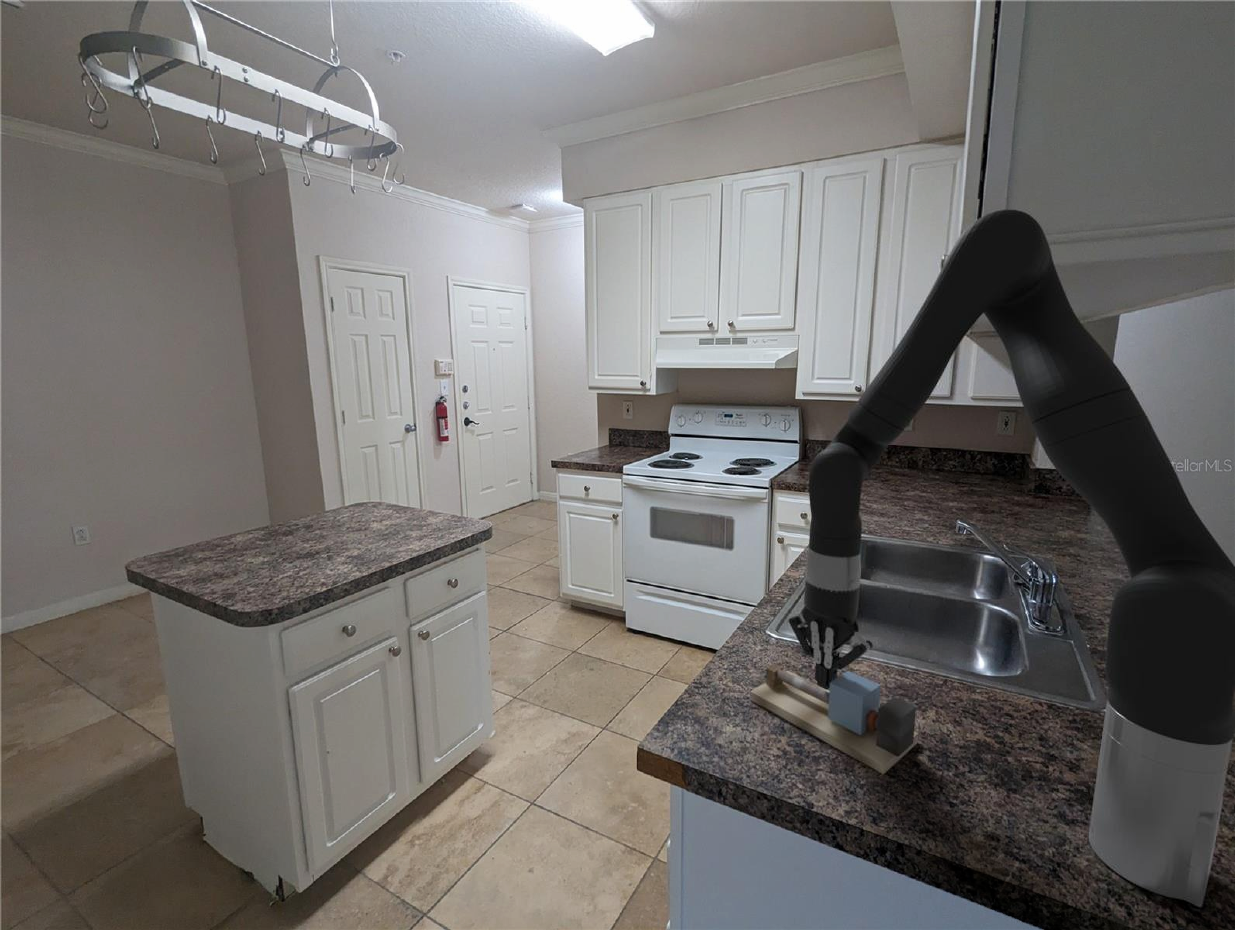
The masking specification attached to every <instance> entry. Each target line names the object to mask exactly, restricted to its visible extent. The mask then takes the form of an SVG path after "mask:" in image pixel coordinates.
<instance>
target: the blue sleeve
mask: <svg viewBox="0 0 1235 930" xmlns="http://www.w3.org/2000/svg"><path fill="white" fill-rule="evenodd" d="M881 685H882V684H879V683H877V682H875V681H872V680H871V679H868V678H865V677H863V676H861V675H858V674H857V673H854V672H851V671H849V670H847V671H846V672H843V674H841V675H840V676H837V678H836V679H835V680H833V681H832V682H830V688H829V691H830V692H829V713H828V719H830V720H832V721H834V722H836V723H838V724H840V725H841V726H843V727H845V728H847V729H849V730H851V731H853V732H855V733H857V734H859V735H862V734H863V733H864V732H866V718H867V714H868V713H871V712H872V711H876V712H878V710H879V708H880V699H881V698H880V697H881Z"/></svg>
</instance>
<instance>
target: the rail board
mask: <svg viewBox="0 0 1235 930" xmlns="http://www.w3.org/2000/svg"><path fill="white" fill-rule="evenodd" d="M765 672H766V673H765V682H764V683H762V684H761V685H759V686H757V687H756V688H754V689H752V690H750V692H749V693H750V694H749V695H750V697H749V701H752V702H753V703H755V704H757V705H759V706H760V707H762V708H764V709H766V710H768V711H769V712H771V713H773V714H774V715H777V716H779V717H780V718H782V719H784V720H785V721H787V722H789V723H791V724H793V725H795V726H796V727H798V728H800V729H801V730H804V731H805V732H807V733H808V734H810V735H812V736H814V737H816V738H818V739H820V740H822V741H823V742H825V743H827V744H829V745H830V746H832V747H834V748H835V749H838V750H839V751H841V752H842V753H845V754H846V755H848V756H850V757H852V758H854V759H855V760H857V761H859V762H861V763H863V764H864V765H866V766H868V767H870V768H871V769H873V770H875V771H877V772H879V773H880V774H882V775H885V774H886V773H887V772H888V771H889V770H890V769H891V768H892V767H893V766H895V764H897V763H898V762H899V761H900V760H901V759H902V758H903V757H904V756H905V755H907V753H909V751H910V750H912V749H913V748H914V747H915V746H916V745H917V744H918V743H919V734H920V733H919V732H917V731H915V724H916V712H917V706H916V705H914V704H911V703H910V702H907V701H906V700H905V701H904V700H902V699H900V698H897V697H896V696H893V697H892V698H890V699H889V700H888V701H887V702H885V703H884V704H883V705H881V706H879V710H878V712H876V711H872V712H871V713H868V714H867V718H866V732H864V733H863V734H862V735H859V734H857V733H855V732H853V731H851V730H849V729H847V728H845V727H843V726H841V725H840V724H838V723H836V722H834V721H832V720H830V719H828V713H829V692H830V689H828V690H826V689H824V688H822V687H820V686H818V685H817V683H814V682H812V681H811V680H808V679H806V678H803V677H801V676H800V675H798V674H795V673H794V672H791V671H789V670H784V667H783V666H782V665H780V664H778V663H773V664H771V665H769V666H768V667H765Z"/></svg>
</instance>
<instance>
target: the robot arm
mask: <svg viewBox="0 0 1235 930" xmlns="http://www.w3.org/2000/svg"><path fill="white" fill-rule="evenodd" d="M1049 244H1050V243H1049V242H1048V239H1047V236H1046V234H1045V232H1044V229H1043V228H1042V226H1041V225H1040V223H1039V222H1038V220H1036V219H1035V218H1034V217H1033V216H1032V215H1031V214H1028V213H1027V212H1025V211H1022V210H1017V209H1000V210H996V211H993V212H992V211H991V212H990V213H987V214H985V215H983V216H981V217H979V218H977V219H976V220H974V221H973V222H972V223H971V224H970V225H968V227H967V228H966V229H964V231H963V232H962V233H961V234H960V235H959V237H958V239H957V240H956V241H955V244H954V245H953V247H952V249H951V250H950V253H949V254H948V256H947V258H946V261H945V263H944V264H943V266H942V268H941V270H940V272H939V274H938V275H937V278H936V280H935V282H934V284H932V285H933V286H932V288H931V289H930V291H929V293H928V295H927V296H926V298H925V300H924V302H923V303H922V305H921V307H920V309H919V311H918V312H917V314H916V315H915V317H914V319H913V320H912V322H911V324H910V326H909V327H908V329H907V330H906V332H905V333H904V335H903V337H902V338H901V340H900V341H899V343H898V344H897V346H896V347H895V349H894V351H893V352H892V353H891V354H890V356H889V357H888V359H887V360H886V362H885V363H884V364H883V365H882V367H881V369H880V370H879V372H878V373H877V374H876V375H875V376H874V378H873V380H872V381H871V382H870V384H869V385H868V386H867V387H866V389H865V390H864V391H863V393H862V394H861V396H860V397H859V398H858V401H857V402H856V403H855V405H854V406H853V407H852V410H851V411H850V412H849V415H848V418H847V421H846V422H845V423H844V424H843V426H842V427H841V428H840V430H839V431H838V432H837V433H836V435H835V436H834V437H833V439H832V440H831V441H830V442H829V443H828V445H827V446H826V447H825V448H824V449H823V450H821V451H820V452H819V453H818V454H816V456H815V457H814V458H813V460H812V462H811V464H810V467H809V474H808V493H809V497H808V498H809V508H810V513H811V514H810V515H811V519H810V523H809V524H810V525H809V540H808V552H807V556H806V562H805V563H806V564H805V569H804V570H805V574H804V575H805V576H804V577H805V578H804V594H803V595H804V597H803V604H804V608H803V609H802V612H801V613H799V614H797V615H794V616H792V617H790V618H789V619H788V623H789V626H790V628H791V629H792V632H794V635H795V637H796V638H797V639H796V640H797V641H798V642H799V644H800V647H801V649H802V650H803V653H804V654H805V655H806V656H811V657H812V658H813V660H814V663H815V671H814V679H815V682H817V683H816V684H817V685H818V686H820V687H822V688H824V689H826V690H830V682H832V681H833V680H835V679H836V678H838V671H839V670H840V671H841V670H843V669H845V668H846V667H848V666H849V665H851V664H852V663H854V662H855V661H856V660H858V659H859V658H861V657H862V656H863V655H865V654H866V653H867V652H869V650H871V649H872V648H873V647H874V645H873V642H871V640H867V639H866V640H865V639H864V638H863V637H862V635H861V634H860V632H859V631H860V629H859V624H858V622H857V615H858V611H859V600H860V598H859V597H860V586H861V574H862V563H861V561H862V560H861V549H862V548H861V547H862V544H861V543H862V535H863V533H862V532H863V526H862V525H863V524H862V519H861V516H860V509H861V496H862V488H863V482H864V481H865V480H866V479H867V477H868V476H869V474H870V473H871V472H872V470H873V469H874V467H876V465H877V463H878V461H880V459H881V458H882V456H883V454H884V453H885V451H886V450H887V449H888V447H889V445H891V444H892V443H893V442H894V441H895V440H897V439H898V438H899V437H900V435H902V433H903V432H904V431H905V430H906V428H907V427H908V425H909V424H910V423H911V422H912V421H913V419H914V418H915V417H916V415H917V414H918V413H919V412H920V410H921V409H922V408H923V407H924V405H925V404H926V402H927V401H928V399H929V398H930V396H931V395H932V394H933V392H934V390H935V388H936V387H937V385H938V384H939V381H940V380H941V377H942V376H943V374H944V373H945V370H946V368H947V366H948V364H949V363H950V361H951V358H952V356H953V355H954V353H955V351H956V350H957V348H958V346H959V345H960V343H961V342H962V341H963V339H964V338H965V336H966V335H967V333H968V332H969V331H970V329H971V328H972V327H973V326H974V325H975V323H976V322H977V321H978V320H979V318H980V317H981V316H983V314H984V315H985V317H986V318H987V320H988V322H989V323H990V324H991V326H992V327H993V329H994V330H995V333H996V334H997V335H998V337H999V339H1000V340H1001V342H1002V344H1003V346H1004V348H1005V351H1006V352H1007V356H1008V359H1009V361H1010V366H1011V370H1012V375H1013V377H1014V382H1015V385H1016V389H1017V393H1018V395H1019V398H1020V401H1021V404H1022V405H1023V406H1022V407H1023V409H1024V412H1025V414H1026V416H1027V419H1028V421H1029V424H1030V425H1031V428H1032V429H1033V431H1034V433H1035V435H1036V438H1037V439H1038V441H1039V443H1040V445H1041V447H1042V449H1043V451H1044V453H1045V455H1046V456H1047V457H1048V460H1049V461H1050V463H1051V464H1052V465H1053V467H1054V468H1055V470H1056V471H1057V472H1058V473H1059V474H1060V476H1061V477H1062V478H1063V480H1065V482H1067V483H1068V484H1069V486H1070V487H1072V488H1073V490H1074V491H1076V493H1077V494H1078V495H1079V496H1080V497H1081V498H1082V499H1083V500H1084V501H1085V502H1086V503H1087V504H1088V505H1089V506H1090V507H1091V508H1092V509H1093V511H1095V512H1096V513H1097V514H1098V516H1099V517H1100V518H1101V520H1102V521H1103V522H1104V523H1105V525H1106V527H1107V528H1108V530H1109V531H1110V533H1111V534H1112V537H1113V539H1114V541H1115V542H1116V545H1117V546H1118V548H1119V551H1120V553H1121V556H1122V558H1123V560H1124V563H1125V565H1126V568H1127V569H1128V573H1129V576H1130V579H1129V580H1126V582H1124V583H1123V585H1122V586H1121V587H1119V589H1118V590H1117V592H1116V594H1115V596H1114V598H1113V601H1112V605H1111V608H1110V615H1109V619H1108V620H1109V621H1108V628H1107V629H1108V630H1107V640H1106V651H1105V652H1106V653H1105V661H1104V663H1105V665H1104V672H1105V673H1104V674H1105V675H1104V676H1105V680H1106V681H1107V682H1106V683H1107V685H1108V690H1107V692H1108V693H1107V699H1106V706H1105V707H1106V708H1105V714H1104V721H1103V729H1102V736H1101V737H1102V738H1101V743H1100V751H1099V757H1098V758H1099V759H1098V765H1097V772H1096V779H1095V785H1094V786H1095V787H1094V793H1093V800H1092V809H1091V816H1090V819H1089V830H1088V831H1089V833H1088V840H1089V844H1090V847H1091V848H1092V850H1093V851H1094V853H1095V854H1096V856H1098V858H1099V859H1100V860H1101V861H1102V862H1103V863H1104V864H1105V865H1106V866H1107V867H1109V868H1110V869H1111V870H1112V871H1114V872H1115V873H1117V874H1118V875H1119V876H1121V877H1122V878H1124V879H1126V880H1127V881H1128V882H1131V883H1133V884H1135V885H1136V886H1139V887H1141V888H1142V889H1145V890H1148V891H1150V892H1152V893H1155V894H1157V895H1161V896H1164V897H1167V898H1173V899H1178V900H1184V901H1186V902H1188V903H1190V904H1192V905H1194V906H1195V907H1198V908H1202V907H1203V905H1204V899H1205V895H1206V891H1207V887H1208V882H1209V878H1210V874H1211V868H1212V863H1213V858H1214V852H1215V847H1216V841H1217V840H1216V839H1217V836H1218V829H1219V825H1220V818H1221V811H1222V806H1223V801H1224V795H1223V794H1224V789H1225V783H1226V778H1227V772H1228V768H1229V761H1230V755H1231V751H1232V750H1231V749H1232V744H1233V739H1234V736H1235V707H1234V698H1235V565H1234V563H1233V562H1232V561H1231V559H1230V558H1229V557H1228V555H1227V553H1225V552H1224V550H1223V548H1222V547H1221V546H1220V545H1219V543H1218V542H1217V540H1216V539H1215V538H1214V536H1213V534H1212V533H1211V532H1210V530H1209V529H1208V528H1207V527H1206V525H1205V524H1204V523H1203V521H1202V520H1201V518H1200V516H1199V514H1198V513H1197V512H1196V510H1195V509H1194V507H1193V505H1192V504H1191V502H1190V500H1189V498H1188V496H1187V494H1186V492H1185V490H1184V488H1183V485H1182V483H1181V481H1180V479H1179V477H1178V475H1177V472H1176V470H1175V468H1174V466H1173V463H1172V462H1171V460H1170V458H1169V457H1168V455H1167V452H1166V451H1165V449H1164V447H1163V445H1162V442H1161V441H1160V439H1159V437H1158V435H1157V433H1156V432H1155V430H1154V428H1153V427H1154V426H1153V425H1152V423H1151V421H1150V420H1149V418H1148V415H1147V414H1146V412H1145V410H1144V408H1143V407H1142V405H1141V404H1140V402H1139V400H1138V398H1137V397H1136V395H1135V393H1134V391H1133V389H1132V387H1131V385H1130V384H1129V382H1128V381H1127V380H1126V377H1125V376H1124V375H1123V373H1122V371H1121V370H1120V369H1119V368H1118V366H1117V364H1115V363H1114V361H1113V359H1112V358H1111V357H1110V355H1109V354H1108V353H1107V352H1106V351H1105V350H1104V348H1103V347H1102V345H1100V344H1099V343H1098V342H1097V340H1096V339H1095V338H1094V337H1093V336H1092V334H1090V332H1089V331H1088V330H1087V329H1086V327H1085V326H1084V325H1083V324H1082V322H1081V321H1080V320H1079V318H1078V317H1077V315H1076V314H1075V312H1074V310H1073V308H1072V306H1071V304H1070V300H1069V299H1068V296H1067V294H1066V292H1065V289H1064V287H1063V285H1062V282H1061V280H1060V277H1059V274H1058V272H1057V269H1056V266H1055V264H1054V259H1053V256H1052V251H1051V248H1050V245H1049ZM850 640H851V642H850V647H849V648H850V651H849V652H847V653H845V654H844V655H843V656H842V652H843V650H844V647H845V644H847V643H848V642H849V641H850Z"/></svg>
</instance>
